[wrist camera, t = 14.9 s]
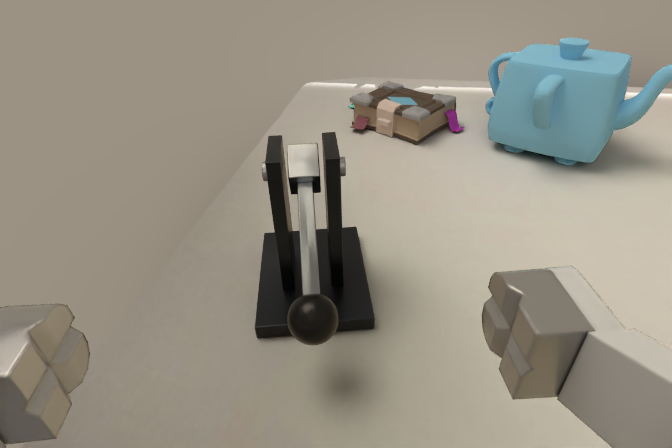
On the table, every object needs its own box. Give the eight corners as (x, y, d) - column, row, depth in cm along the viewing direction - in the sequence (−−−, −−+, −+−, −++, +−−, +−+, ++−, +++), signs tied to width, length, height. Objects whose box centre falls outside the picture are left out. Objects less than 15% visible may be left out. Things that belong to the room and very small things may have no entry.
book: (316, 120, 68) (314, 89, 65) (364, 99, 75) (364, 70, 72) (425, 155, 57) (429, 119, 54) (469, 126, 64) (474, 93, 61)
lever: (340, 347, 28) (341, 337, 25) (290, 351, 28) (285, 342, 25) (324, 163, 34) (324, 138, 31) (283, 166, 34) (279, 141, 31)
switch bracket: (374, 328, 33) (378, 184, 26) (256, 338, 33) (227, 194, 25) (356, 236, 43) (355, 112, 36) (265, 242, 43) (246, 118, 35)
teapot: (506, 177, 52) (532, 61, 44) (466, 124, 65) (481, 27, 57) (657, 171, 52) (710, 54, 44) (587, 119, 65) (618, 22, 57)
